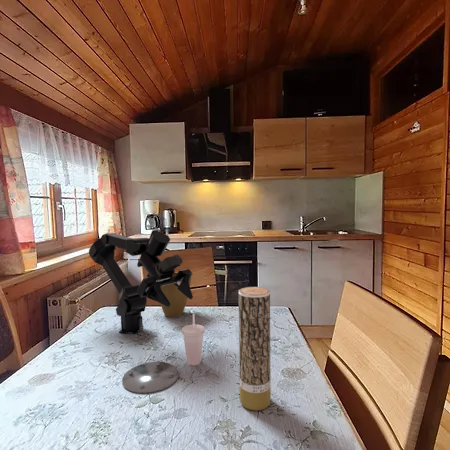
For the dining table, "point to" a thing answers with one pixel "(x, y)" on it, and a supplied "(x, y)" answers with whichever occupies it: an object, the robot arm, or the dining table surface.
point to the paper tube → (254, 347)
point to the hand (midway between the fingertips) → (181, 302)
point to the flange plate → (150, 377)
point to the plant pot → (174, 299)
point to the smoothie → (193, 342)
